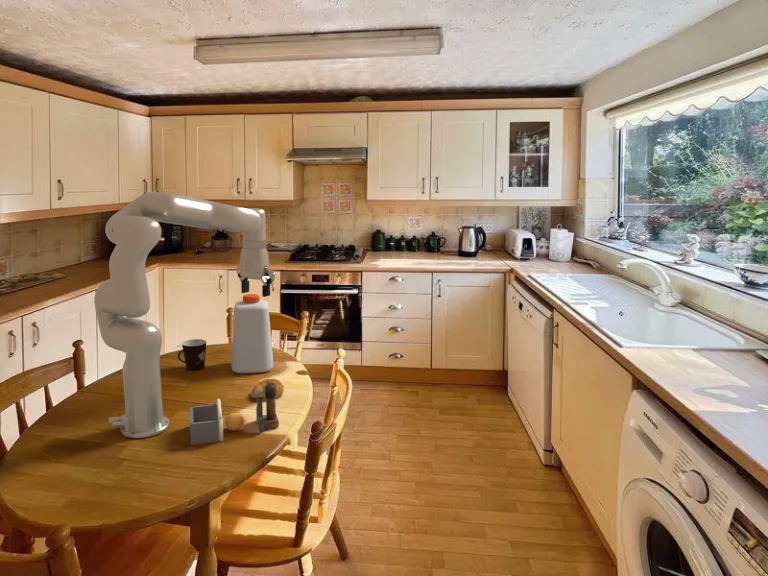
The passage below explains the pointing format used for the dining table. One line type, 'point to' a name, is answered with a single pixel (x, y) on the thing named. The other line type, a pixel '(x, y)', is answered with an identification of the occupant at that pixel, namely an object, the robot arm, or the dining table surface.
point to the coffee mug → (194, 354)
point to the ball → (234, 421)
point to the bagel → (264, 382)
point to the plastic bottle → (251, 336)
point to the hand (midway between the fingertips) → (255, 294)
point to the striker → (271, 417)
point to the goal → (206, 423)
